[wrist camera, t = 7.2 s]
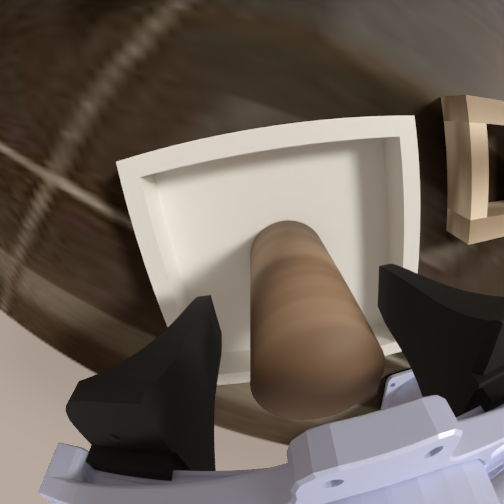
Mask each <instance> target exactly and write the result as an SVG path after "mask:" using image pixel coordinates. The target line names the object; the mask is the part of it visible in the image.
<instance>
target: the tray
mask: <svg viewBox="0 0 504 504" xmlns="http://www.w3.org/2000/svg"><path fill="white" fill-rule="evenodd" d="M116 164H117V168H118V173H119V177H120V181H121V185H122V189H123V193H124V196H125V200H126V204H127V208H128V211H129V215H130V218H131V222H132V225H133V229H134V232H135V235H136V239H137V242H138V245H139V248H140V251H141V255H142V258H143V261H144V264H145V267H146V270H147V273H148V276H149V278H150V281H151V284H152V287H153V290H154V293H155V295H156V298H157V301H158V304H159V306H160V309H161V312H162V314H163V317H164V319H165V322H166V324H167V327H169V326H170V325H171V324H172V323H173V322H174V321H175V320H176V319H177V317H178V316H179V315H180V314H181V313H182V312H183V311H184V310H185V309H186V308H187V307H188V305H189V304H190V303H191V302H192V301H193V300H194V299H195V298H196V297H199V296H206V295H211V298H212V301H213V305H214V308H215V312H216V315H217V319H218V322H219V325H220V329H221V332H222V354H221V360H220V367H219V374H218V380H217V385H225V384H235V383H245V382H250V252H251V247H252V244H253V242H254V240H255V238H256V237H257V235H258V234H259V233H260V232H261V231H262V230H263V229H265V228H266V227H267V226H269V225H271V224H273V223H276V222H279V221H286V220H291V221H298V222H301V223H304V224H306V225H308V226H309V227H311V228H312V229H313V230H314V231H315V232H316V233H317V235H318V236H319V238H320V239H321V241H322V243H323V244H324V246H325V248H326V249H327V251H328V253H329V254H330V256H331V258H332V259H333V261H334V263H335V265H336V266H337V268H338V270H339V271H340V273H341V275H342V277H343V278H344V280H345V282H346V284H347V285H348V287H349V289H350V291H351V292H352V294H353V296H354V298H355V300H356V301H357V303H358V305H359V307H360V309H361V310H362V312H363V314H364V316H365V318H366V320H367V321H368V323H369V325H370V327H371V329H372V331H373V333H374V335H375V336H376V338H377V340H378V342H379V344H380V346H381V348H382V350H383V353H384V356H386V355H390V354H394V353H397V352H401V351H402V350H401V349H400V347H399V345H398V344H397V342H396V340H395V339H394V337H393V336H392V334H391V332H390V331H389V329H388V327H387V326H386V324H385V322H384V320H383V318H382V315H381V313H380V311H379V308H378V284H379V266H381V265H386V264H395V265H398V266H401V267H403V268H405V269H408V270H410V271H412V272H415V273H418V260H419V243H420V173H419V156H418V144H417V133H416V124H415V116H371V117H352V118H338V119H327V120H316V121H307V122H298V123H290V124H283V125H276V126H269V127H262V128H256V129H250V130H245V131H239V132H234V133H228V134H223V135H218V136H213V137H209V138H204V139H199V140H195V141H191V142H186V143H182V144H178V145H174V146H170V147H166V148H162V149H159V150H155V151H151V152H148V153H144V154H141V155H137V156H134V157H130V158H127V159H124V160H120V161H117V162H116Z"/></svg>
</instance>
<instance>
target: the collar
mask: <svg viewBox="0 0 504 504" xmlns="http://www.w3.org/2000/svg"><path fill="white" fill-rule="evenodd" d="M441 103H442V111H443V119H444V128H445V140H446V154H447V186H448V195H447V227H446V231H448V232H449V233H451V234H453V235H454V236H456V237H457V238H459V239H460V240H462V241H463V242H465V243H466V244H468V245H470V244H474V243H478V242H482V241H487V240H491V239H495V238H499V237H503V236H504V200H503V201H496V202H488V186H489V161H488V138H487V125H486V124H495V125H504V101H500V100H494V99H489V98H482V97H476V96H469V95H459V96H445V97H441Z"/></svg>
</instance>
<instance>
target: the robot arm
mask: <svg viewBox="0 0 504 504" xmlns="http://www.w3.org/2000/svg"><path fill="white" fill-rule="evenodd" d="M378 308H379V311H380V313H381V315H382V318H383V320H384V322H385V324H386V326H387V327H388V329H389V331H390V332H391V334H392V336H393V337H394V339H395V340H396V342H397V344H398V345H399V347H400V349H401V350H402V352H403V354H404V355H405V357H406V359H407V360H408V362H409V364H410V366H411V369H410V370H407V371H403V372H400V373H397V374H393V375H391V376H389V377H388V378H387V381H386V386H385V391H384V395H383V400H382V405H381V409H380V410H379V411H375V412H372V413H368V414H364V415H360V416H356V417H352V418H348V419H344V420H339V421H335V422H330V423H326V424H323V425H320V426H317V427H314V428H311V429H308V430H307V431H305V432H304V433H302V434H301V435H299V436H298V437H296V438H295V439H293V440H292V441H291V443H290V445H289V448H288V450H287V457H288V463H287V464H283V465H279V466H276V467H271V468H265V469H252V470H236V471H215V453H214V402H215V393H216V386H217V380H218V374H219V367H220V360H221V354H222V332H221V329H220V325H219V322H218V319H217V315H216V312H215V308H214V305H213V301H212V298H211V295H206V296H199V297H196V298H195V299H194V300H193V301H192V302H191V303H190V304H189V305H188V307H187V308H186V309H185V310H184V311H183V312H182V313H181V314H180V315H179V316H178V317H177V319H176V320H175V321H174V322H173V323H172V324H171V325H170V326H169V327H168V328H167V329H166V330H165V331H163V332H162V333H161V334H160V335H159V336H158V337H157V338H156V339H155V340H153V341H152V342H151V343H150V344H148V345H147V346H146V347H145V348H143V349H142V350H141V351H139V352H137V353H136V354H134V355H133V356H131V357H130V358H128V359H127V360H125V361H123V362H122V363H120V364H118V365H116V366H114V367H112V368H110V369H108V370H106V371H104V372H102V373H100V374H97V375H94V376H92V377H89V378H87V379H84V380H81V381H79V382H78V384H77V386H76V388H75V390H74V392H73V394H72V396H71V397H70V400H69V401H68V403H67V405H66V413H67V415H68V417H69V419H70V421H71V422H72V423H73V425H74V426H75V427H76V428H77V429H78V430H79V432H80V433H81V434H82V435H83V436H84V437H85V438H86V439H87V440H88V441H89V442H90V443H91V444H92V446H91V448H90V451H87V450H85V449H83V448H80V447H77V446H72V445H67V444H63V443H58V446H57V448H56V450H55V453H54V455H53V458H52V460H51V462H50V465H49V467H48V469H47V472H46V474H45V477H44V480H43V482H42V485H41V487H40V490H39V494H40V495H41V496H42V497H44V498H45V499H47V500H48V501H50V502H51V503H53V504H504V297H498V296H489V295H483V294H477V293H472V292H468V291H464V290H460V289H457V288H453V287H450V286H447V285H444V284H442V283H439V282H436V281H434V280H431V279H429V278H426V277H424V276H422V275H419V274H417V273H415V272H412V271H410V270H408V269H405V268H403V267H401V266H398V265H395V264H386V265H381V266H379V284H378Z"/></svg>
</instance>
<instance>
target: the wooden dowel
mask: <svg viewBox="0 0 504 504" xmlns="http://www.w3.org/2000/svg"><path fill="white" fill-rule="evenodd" d="M384 366H385V356H384V353H383V350H382V348H381V346H380V344H379V342H378V340H377V338H376V336H375V335H374V333H373V331H372V329H371V327H370V325H369V323H368V321H367V320H366V318H365V316H364V314H363V312H362V310H361V309H360V307H359V305H358V303H357V301H356V300H355V298H354V296H353V294H352V292H351V291H350V289H349V287H348V285H347V284H346V282H345V280H344V278H343V277H342V275H341V273H340V271H339V270H338V268H337V266H336V265H335V263H334V261H333V259H332V258H331V256H330V254H329V253H328V251H327V249H326V248H325V246H324V244H323V243H322V241H321V239H320V238H319V236H318V235H317V233H316V232H315V231H314V230H313V229H312V228H311V227H309V226H308V225H306V224H304V223H301V222H298V221H291V220H286V221H279V222H276V223H273V224H271V225H269V226H267V227H266V228H265V229H263V230H262V231H261V232H260V233H259V234H258V235H257V237H256V238H255V240H254V242H253V244H252V247H251V252H250V386H251V392H252V395H253V397H254V398H255V400H256V401H257V403H258V404H259V405H260V406H261V407H263V408H264V409H265V410H267V411H268V412H270V413H272V414H275V415H277V416H280V417H284V418H289V419H298V420H308V419H318V418H323V417H327V416H331V415H334V414H337V413H340V412H342V411H344V410H346V409H348V408H350V407H352V406H354V405H355V404H357V403H358V402H360V401H361V400H362V399H364V398H365V397H366V396H367V395H368V394H369V393H370V392H371V391H372V390H373V389H374V388H375V386H376V385H377V384H378V382H379V380H380V378H381V376H382V374H383V371H384Z"/></svg>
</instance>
